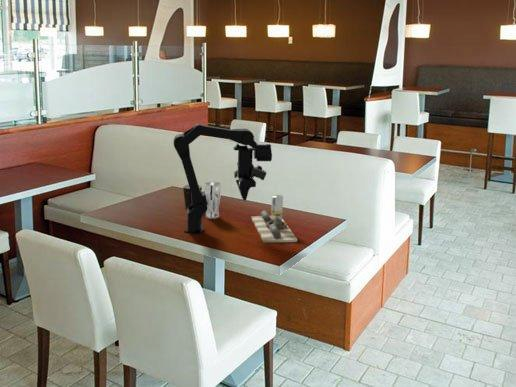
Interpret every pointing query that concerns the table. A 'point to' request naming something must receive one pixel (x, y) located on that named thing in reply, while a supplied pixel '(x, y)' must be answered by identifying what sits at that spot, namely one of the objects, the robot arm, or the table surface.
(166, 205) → the table surface
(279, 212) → the metal cup
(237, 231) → the table surface
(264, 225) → the shaft board
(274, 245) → the table surface
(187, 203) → the coffee mug
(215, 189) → the beer glass
